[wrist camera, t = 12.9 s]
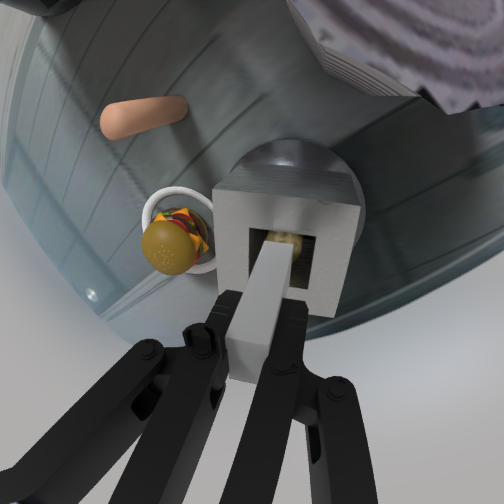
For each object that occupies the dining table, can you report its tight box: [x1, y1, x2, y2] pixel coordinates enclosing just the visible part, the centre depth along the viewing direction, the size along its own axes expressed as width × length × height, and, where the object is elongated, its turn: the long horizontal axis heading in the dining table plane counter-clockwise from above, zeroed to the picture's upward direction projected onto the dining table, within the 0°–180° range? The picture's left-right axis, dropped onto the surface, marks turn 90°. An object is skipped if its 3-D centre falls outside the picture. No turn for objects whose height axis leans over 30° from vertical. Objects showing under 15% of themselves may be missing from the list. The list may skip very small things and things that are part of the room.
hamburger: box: [141, 186, 217, 275], centre depth 23 cm, size 12×12×6 cm
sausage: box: [100, 95, 188, 140], centre depth 16 cm, size 2×2×8 cm
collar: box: [212, 162, 361, 318], centre depth 18 cm, size 8×8×6 cm
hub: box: [230, 138, 366, 262], centre depth 19 cm, size 11×11×6 cm
